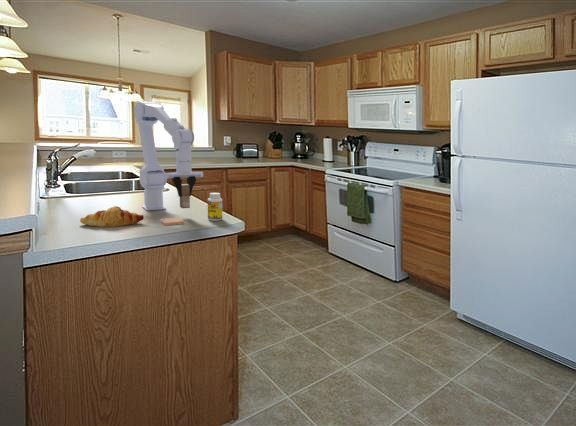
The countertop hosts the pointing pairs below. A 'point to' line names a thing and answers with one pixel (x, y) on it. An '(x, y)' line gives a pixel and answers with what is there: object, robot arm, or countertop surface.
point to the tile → (172, 221)
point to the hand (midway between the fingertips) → (184, 196)
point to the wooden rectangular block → (185, 196)
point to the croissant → (111, 218)
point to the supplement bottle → (215, 207)
